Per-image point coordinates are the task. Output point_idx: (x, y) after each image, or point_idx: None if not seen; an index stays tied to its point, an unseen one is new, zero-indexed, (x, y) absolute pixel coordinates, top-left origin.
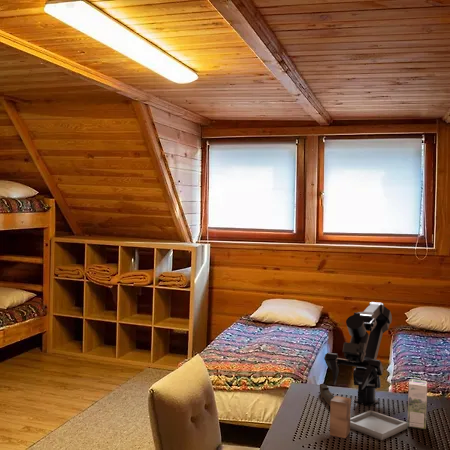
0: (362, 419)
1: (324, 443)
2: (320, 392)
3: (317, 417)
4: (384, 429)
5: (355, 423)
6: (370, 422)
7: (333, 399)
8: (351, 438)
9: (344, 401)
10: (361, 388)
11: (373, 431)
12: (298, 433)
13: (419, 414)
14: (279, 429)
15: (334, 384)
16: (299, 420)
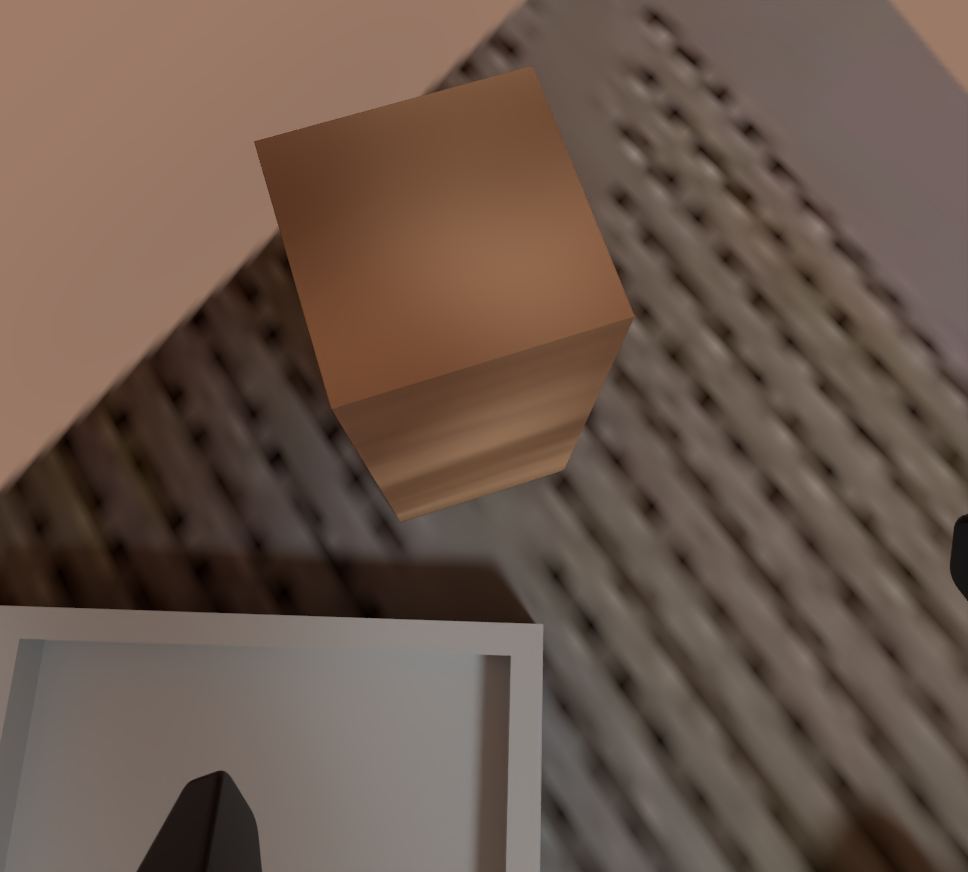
0: None
1: None
2: None
3: (913, 598)
4: (103, 859)
5: (395, 634)
6: None
7: (529, 136)
8: (307, 409)
9: (331, 198)
10: (217, 781)
11: (125, 610)
12: (725, 139)
13: None
14: (897, 84)
15: (952, 551)
16: (960, 377)
